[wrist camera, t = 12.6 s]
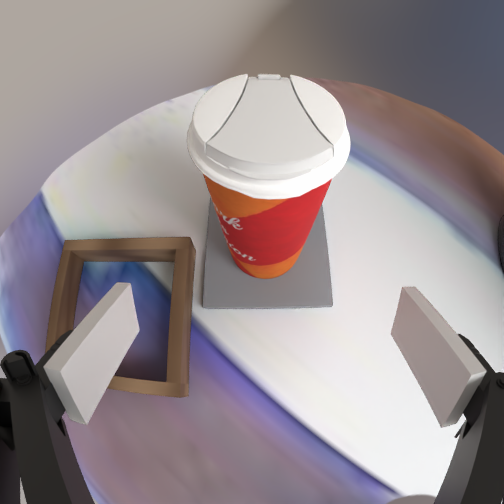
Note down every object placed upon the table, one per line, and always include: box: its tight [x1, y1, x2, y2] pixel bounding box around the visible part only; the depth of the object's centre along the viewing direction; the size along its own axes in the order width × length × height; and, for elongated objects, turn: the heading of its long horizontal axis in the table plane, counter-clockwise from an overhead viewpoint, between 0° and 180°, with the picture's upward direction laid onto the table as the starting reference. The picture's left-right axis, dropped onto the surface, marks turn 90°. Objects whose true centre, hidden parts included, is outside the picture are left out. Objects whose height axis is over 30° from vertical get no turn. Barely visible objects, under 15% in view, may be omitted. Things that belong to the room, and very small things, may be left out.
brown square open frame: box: [45, 237, 196, 398], centre depth 22 cm, size 12×12×2 cm
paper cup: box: [187, 74, 350, 279], centre depth 19 cm, size 8×8×14 cm
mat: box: [203, 197, 333, 309], centre depth 25 cm, size 10×10×1 cm
